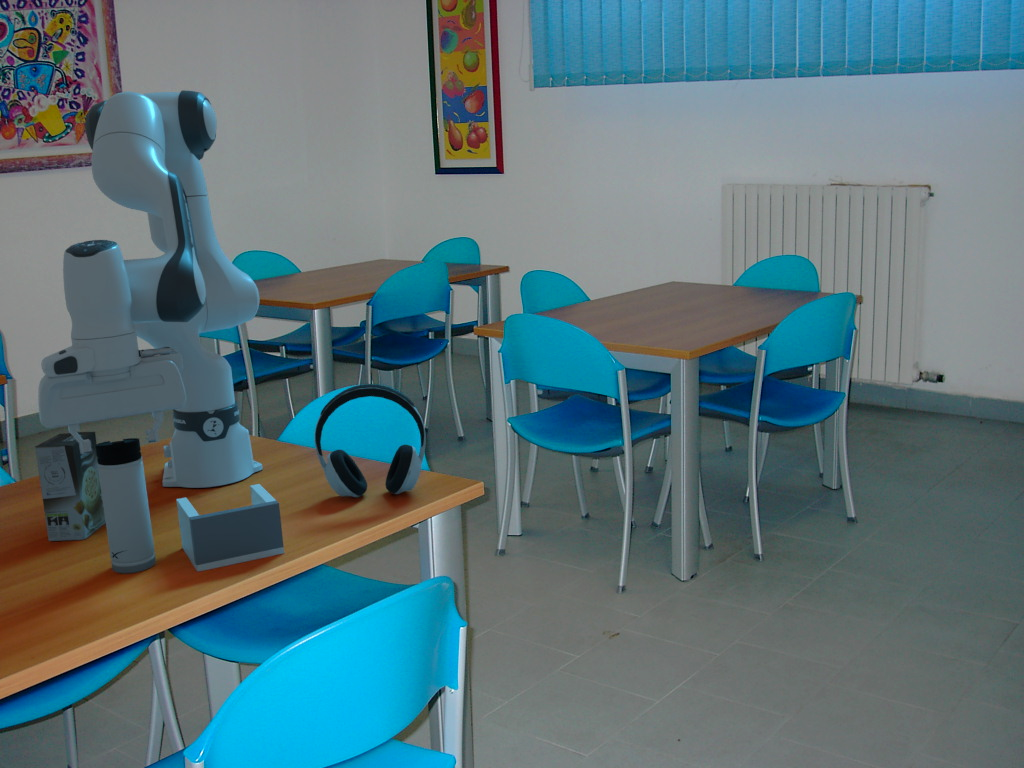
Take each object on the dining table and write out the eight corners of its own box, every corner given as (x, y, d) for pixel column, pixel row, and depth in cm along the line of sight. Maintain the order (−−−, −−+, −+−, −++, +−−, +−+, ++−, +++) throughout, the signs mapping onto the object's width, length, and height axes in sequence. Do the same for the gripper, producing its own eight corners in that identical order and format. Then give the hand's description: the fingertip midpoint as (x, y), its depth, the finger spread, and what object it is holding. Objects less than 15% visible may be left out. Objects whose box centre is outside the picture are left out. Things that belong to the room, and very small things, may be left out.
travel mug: (114, 578, 159) (95, 446, 155) (111, 563, 165) (93, 436, 161) (158, 569, 161) (141, 439, 157) (153, 555, 167) (137, 430, 163)
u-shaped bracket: (182, 547, 170) (176, 499, 168) (264, 531, 176) (259, 483, 174) (197, 571, 160) (191, 520, 158) (284, 553, 165) (278, 503, 163)
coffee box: (86, 540, 176) (72, 445, 173) (47, 542, 177) (33, 446, 173) (108, 521, 185) (95, 430, 182) (71, 523, 186) (58, 432, 182)
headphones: (429, 484, 196) (421, 375, 192) (430, 498, 188) (421, 385, 184) (322, 493, 194) (311, 384, 190) (318, 507, 186) (307, 394, 182)
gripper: (176, 342, 164) (188, 431, 167) (30, 361, 155) (44, 455, 158) (184, 347, 158) (196, 439, 161) (32, 367, 149) (48, 464, 152)
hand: (120, 447), depth 159 cm, fingers open, 8 cm apart
